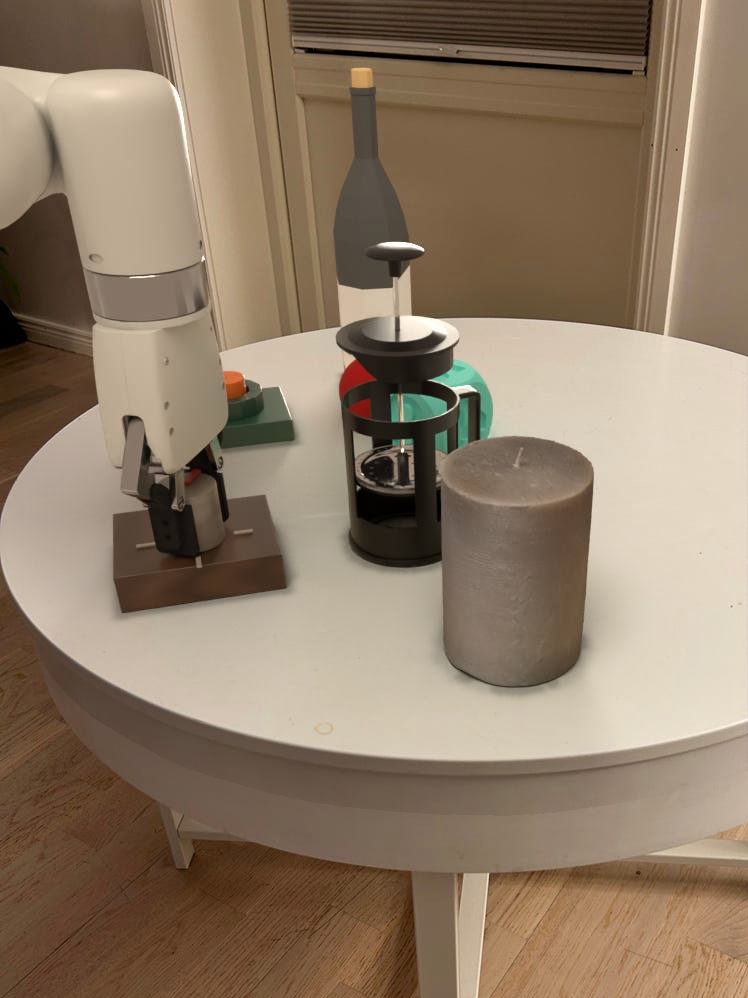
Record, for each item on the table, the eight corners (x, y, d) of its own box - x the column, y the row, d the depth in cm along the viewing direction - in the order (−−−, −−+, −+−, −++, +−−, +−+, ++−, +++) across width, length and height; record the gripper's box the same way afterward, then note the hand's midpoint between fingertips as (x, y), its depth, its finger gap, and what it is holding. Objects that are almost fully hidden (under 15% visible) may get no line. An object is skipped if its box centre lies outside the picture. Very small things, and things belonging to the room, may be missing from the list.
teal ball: (493, 449, 96) (495, 368, 91) (442, 479, 91) (441, 395, 86) (428, 428, 100) (426, 350, 95) (376, 456, 94) (371, 374, 90)
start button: (210, 403, 95) (207, 386, 94) (207, 390, 98) (205, 372, 97) (248, 399, 96) (246, 382, 95) (244, 386, 99) (242, 369, 98)
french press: (365, 580, 76) (343, 272, 63) (325, 526, 83) (297, 238, 70) (501, 546, 81) (507, 252, 67) (452, 498, 88) (449, 221, 74)
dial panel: (121, 615, 72) (112, 578, 71) (120, 546, 80) (112, 511, 79) (287, 590, 75) (282, 554, 73) (269, 526, 83) (265, 492, 81)
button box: (179, 454, 95) (171, 414, 92) (174, 417, 102) (167, 380, 99) (294, 440, 97) (290, 401, 95) (282, 406, 104) (278, 369, 102)
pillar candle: (566, 603, 74) (579, 413, 65) (594, 684, 66) (613, 479, 57) (436, 611, 73) (431, 419, 64) (448, 694, 65) (445, 487, 56)
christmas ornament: (344, 411, 103) (336, 314, 97) (412, 410, 103) (409, 314, 98) (339, 440, 97) (330, 338, 92) (411, 439, 98) (407, 338, 92)
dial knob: (210, 556, 73) (199, 498, 70) (155, 550, 74) (142, 492, 71) (234, 528, 77) (225, 471, 74) (181, 522, 78) (170, 465, 75)
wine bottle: (354, 361, 115) (334, 63, 98) (422, 366, 114) (413, 65, 96) (332, 386, 109) (306, 72, 91) (404, 392, 107) (391, 75, 90)
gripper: (156, 252, 72) (197, 481, 83) (22, 326, 59) (91, 588, 69) (254, 259, 71) (282, 490, 81) (139, 336, 57) (191, 601, 68)
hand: (194, 533), depth 75 cm, fingers closed on dial knob, 4 cm apart
